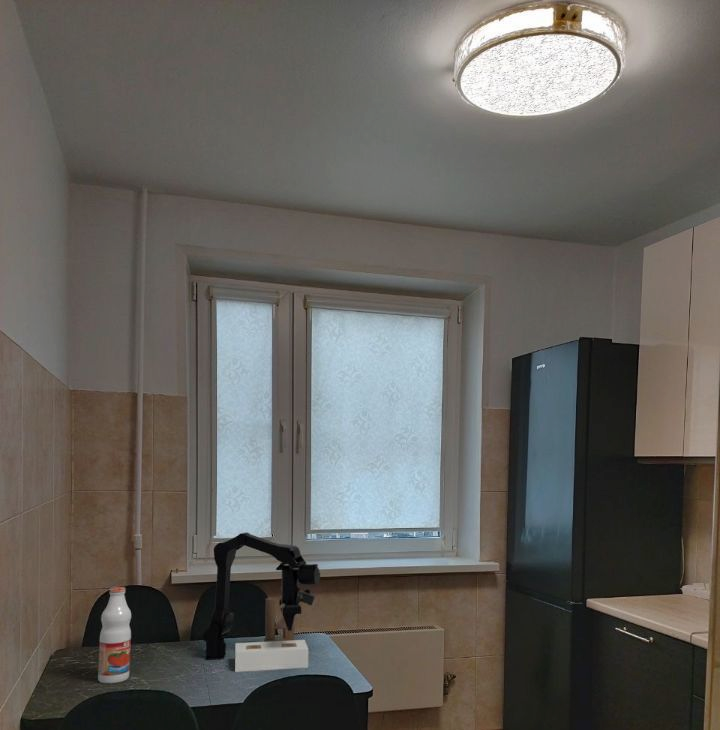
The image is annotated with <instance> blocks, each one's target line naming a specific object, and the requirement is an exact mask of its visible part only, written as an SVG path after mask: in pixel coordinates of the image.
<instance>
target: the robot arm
mask: <svg viewBox="0 0 720 730" xmlns="http://www.w3.org/2000/svg"><path fill="white" fill-rule="evenodd" d="M244 546H245V547H248V548H251V549H253V550H257V551H259V552H262V553H265V554H268V555H270V556H272V557H273V558H274V559H276V560H277V561H278V562H280V563H279V564H278V566H277V567H276V568H275V570H276V571H281V586H280V589H281V596H280V597H279V599H278V604H279V606H281V607H280V612H281V615H282V617H283V618H284V620H285V623H286V626H287V629H288V631H291V630H292V625H293V621H294V622H295V617H296V615H300V614H302V606H301V605H300V603H304V604H307V605H308V606H313V603H314V600H315V597H316V596H315V595H314V594H313V593H311V590H310V588H306V587H305V588H304V590H301V588H300V586H299V583H300V584H301V585H313V586H318V585H319V584H320V580H321V571H320V569H319V566H318V563H313V564H308V563H307V562H306V560H305V559H304V557H303V556H302V554H301V551H300V549H299V547H298V546H296V545H292V544H283V543H282V544H281V543H277V542H273V541H270V540H268V539H264V538H263V537H260V536H256V535H253V534H251V533H249V532H242V533H239V534H238V535H236V536H234V537H231V539H228V540H226V541H225V540H224V541H221V542H218V543H216V545H214V547H213V559H214V560H213V561H214V562H215V565H216V570H217V571H216V584H215V585H216V586H215V601H214V610H213V612H212V614H211V617H210V621H209V626H208V629H206V630H205V631H204V632H203V634H202V635H201V636H202V637H201V638H202V640H203V642H205V657H204V660H217V659H216V658H219V659H220V658H223V659H225V656H226V651H227V644H226V643H227V641H225V637H227V636H228V635H229V634H228V633H229V632H230V631H231V630H232V628H233V626H234V625H235V622H234V619H235V618H234V617H235V613H234V612H231V611H230V607H229V603H230V589H231V588H230V587H231V571H232V570H231V569H232V565H233V564H234V561H235V558H236V554H237V551H239V550H240V549H242V548H243V547H244ZM220 660H221V659H220Z"/></svg>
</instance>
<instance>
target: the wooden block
mask: <svg viewBox="0 0 720 730" xmlns="http://www.w3.org/2000/svg"><path fill="white" fill-rule="evenodd" d="M264 625H265V626H264V627H265V628H264V629H265V631H264V632H265V633H264V637H265V638H263V642H270V641H289V640H295V620H294V621H293V625H292V630H291V631H288V629H287V626H286V623H285V620H284V618H283V616H281V618H280V619H279V620H278V621H277V623H276V597H275V598H274V597H267V598H265V623H264ZM276 630H282V637H280V636H276Z"/></svg>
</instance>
